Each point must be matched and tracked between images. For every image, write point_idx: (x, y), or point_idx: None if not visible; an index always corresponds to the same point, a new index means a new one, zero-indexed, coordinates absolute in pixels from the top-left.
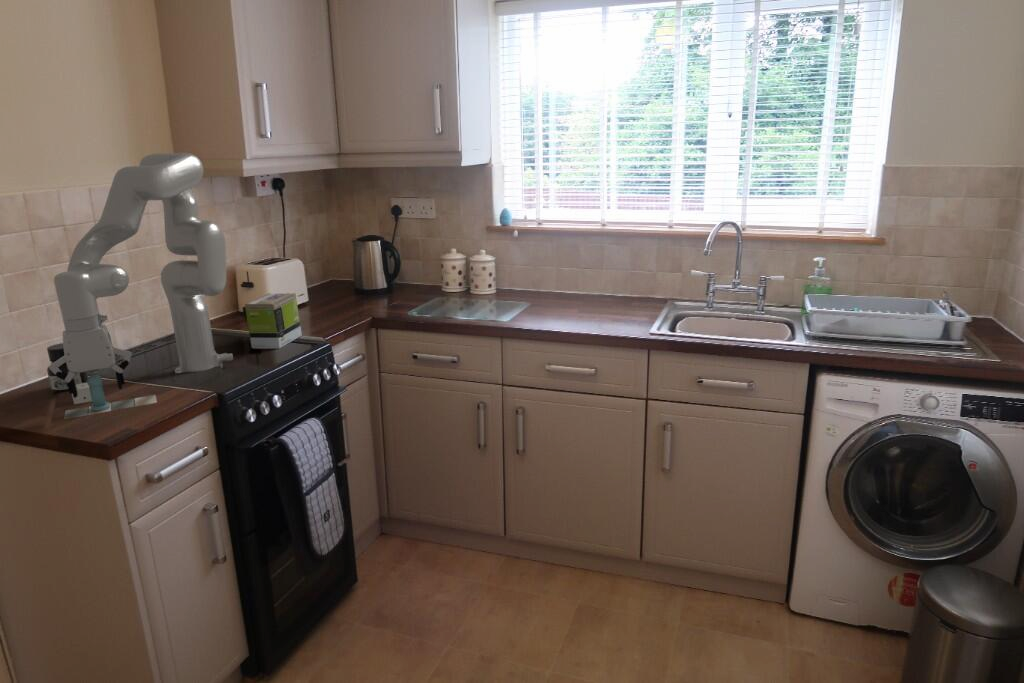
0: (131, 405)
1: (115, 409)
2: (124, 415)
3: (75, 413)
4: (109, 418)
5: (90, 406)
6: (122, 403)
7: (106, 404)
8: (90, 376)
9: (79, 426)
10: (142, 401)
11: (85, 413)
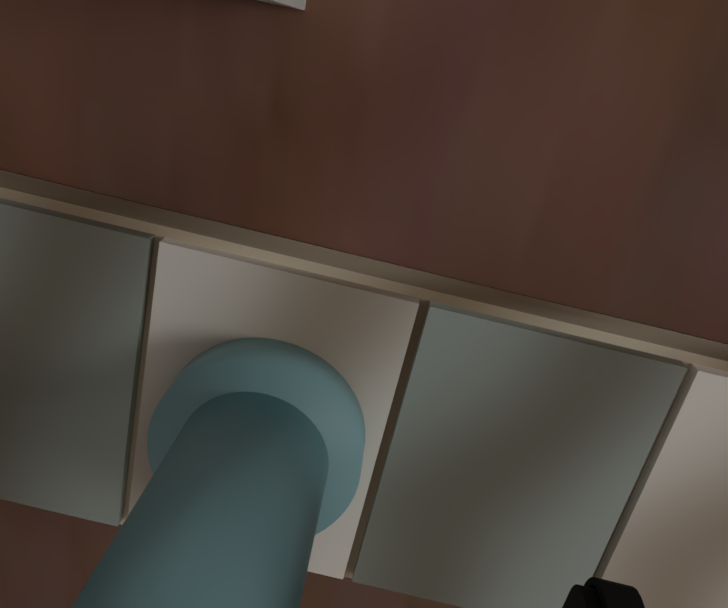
0: (559, 584)
1: (388, 579)
2: (442, 605)
3: (3, 380)
4: (312, 580)
5: (149, 436)
6: (512, 445)
7: (321, 509)
8: None
9: (60, 577)
10: (704, 551)
11: (102, 465)
